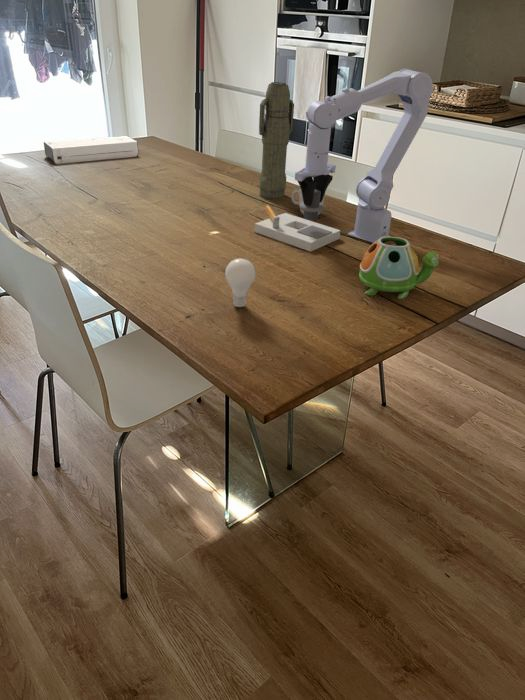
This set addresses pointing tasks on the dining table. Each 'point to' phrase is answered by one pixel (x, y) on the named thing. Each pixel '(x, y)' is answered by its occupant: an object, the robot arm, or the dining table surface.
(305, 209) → the plug
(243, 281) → the lightbulb
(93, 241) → the dining table surface
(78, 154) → the laminator
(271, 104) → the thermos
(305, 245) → the socket board
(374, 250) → the turtle holder
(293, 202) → the cup
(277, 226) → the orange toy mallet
